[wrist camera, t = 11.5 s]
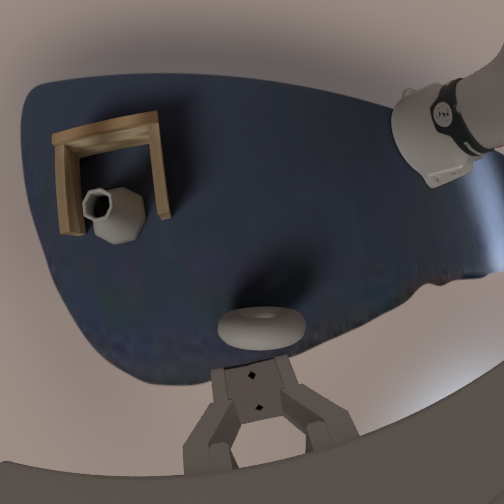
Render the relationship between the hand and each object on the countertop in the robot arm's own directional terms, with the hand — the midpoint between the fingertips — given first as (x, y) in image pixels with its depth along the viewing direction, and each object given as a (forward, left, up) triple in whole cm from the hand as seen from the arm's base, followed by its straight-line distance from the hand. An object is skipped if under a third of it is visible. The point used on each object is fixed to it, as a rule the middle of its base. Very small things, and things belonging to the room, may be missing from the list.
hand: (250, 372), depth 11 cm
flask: (+9, -11, -27) cm, 30 cm away
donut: (-5, +5, -27) cm, 28 cm away
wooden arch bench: (+9, -14, -27) cm, 31 cm away
